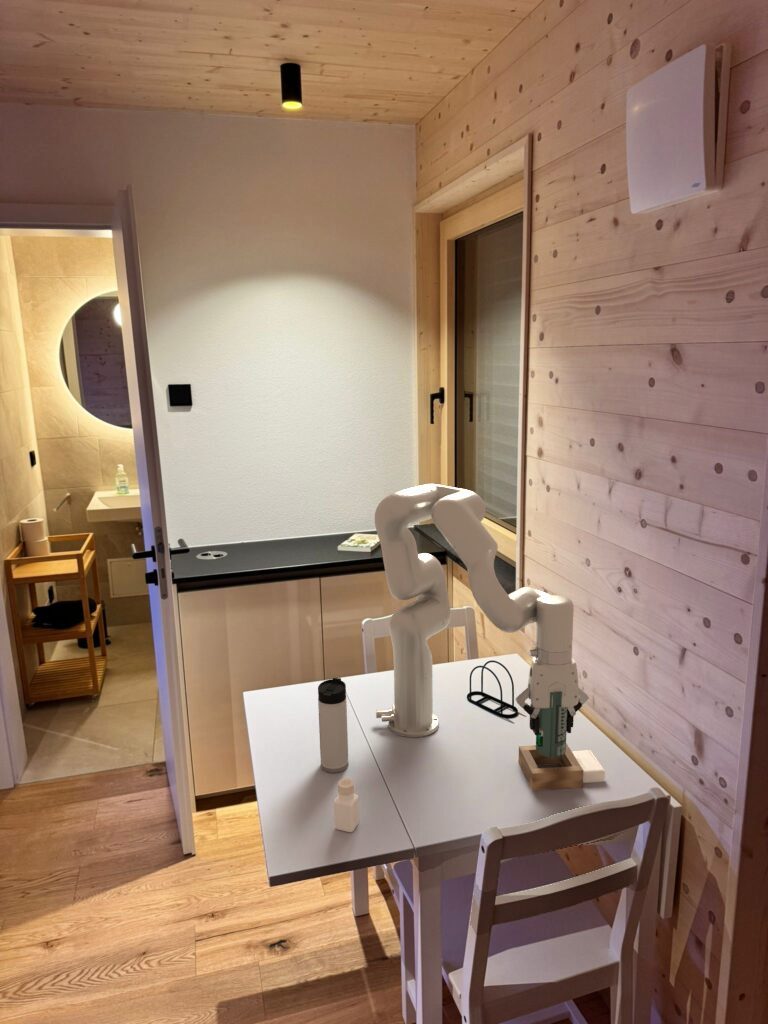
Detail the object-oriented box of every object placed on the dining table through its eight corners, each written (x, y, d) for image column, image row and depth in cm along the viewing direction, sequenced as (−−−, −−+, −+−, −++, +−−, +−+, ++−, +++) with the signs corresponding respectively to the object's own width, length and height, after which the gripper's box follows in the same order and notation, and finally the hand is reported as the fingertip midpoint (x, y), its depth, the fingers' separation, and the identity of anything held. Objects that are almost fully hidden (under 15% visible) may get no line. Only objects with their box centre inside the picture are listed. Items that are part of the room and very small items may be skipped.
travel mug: (353, 760, 167) (350, 679, 163) (342, 775, 161) (339, 692, 157) (328, 755, 169) (325, 675, 165) (316, 770, 163) (312, 688, 159)
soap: (605, 783, 157) (606, 770, 156) (580, 784, 157) (581, 772, 156) (590, 760, 166) (591, 748, 165) (567, 761, 165) (567, 749, 165)
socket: (532, 790, 154) (532, 773, 153) (518, 762, 165) (518, 746, 164) (582, 787, 155) (583, 770, 154) (565, 759, 166) (566, 743, 165)
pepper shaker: (333, 830, 143) (332, 786, 141) (342, 818, 146) (340, 775, 144) (352, 834, 141) (351, 790, 139) (360, 822, 145) (359, 779, 143)
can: (543, 740, 163) (545, 677, 160) (569, 747, 159) (571, 684, 156) (531, 752, 158) (533, 688, 155) (558, 760, 155) (560, 695, 151)
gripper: (518, 663, 150) (516, 742, 153) (600, 658, 151) (596, 737, 155) (508, 649, 157) (507, 724, 161) (587, 644, 158) (583, 720, 162)
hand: (551, 730), depth 158 cm, fingers closed on can, 6 cm apart
